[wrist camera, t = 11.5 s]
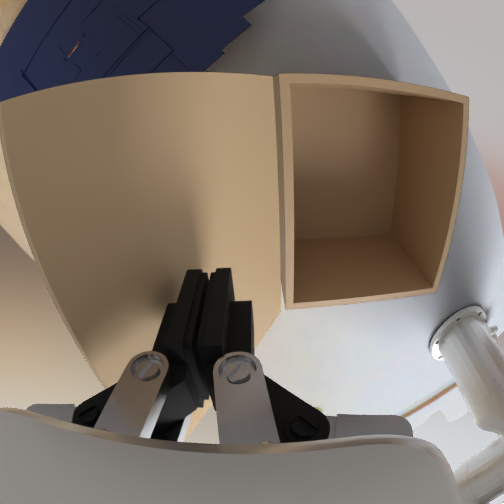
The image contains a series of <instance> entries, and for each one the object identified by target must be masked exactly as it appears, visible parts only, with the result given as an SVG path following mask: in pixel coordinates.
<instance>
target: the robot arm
mask: <svg viewBox="0 0 504 504" xmlns="http://www.w3.org/2000/svg"><path fill="white" fill-rule="evenodd" d="M485 322H486V314H485V312H484V311H483V309H482V308H480V307H478V306H470V307H466V308H464V309H462V310H460V311H458V312H456V313H455V314H454V315H452V316H451V317H450V318H449V319H447V320H446V321H445V322H444V323H443V324H442V325H441V326H440V328H439V329H438V330H437V331H436V333H435V335H434V336H433V338H432V340H431V343H430V349H429V350H430V353H431V355H432V357H433V358H434V359H436V360H444V361H445V363H446V365H447V367H448V369H449V371H450V373H451V375H452V377H453V379H454V380H455V382H456V384H457V386H458V388H459V390H460V393H461V395H462V397H463V399H464V401H465V403H466V405H467V407H468V409H469V412H470V414H471V416H472V418H473V420H474V422H475V424H476V425H477V426H478V427H479V428H481V429H483V430H486V431H490V432H495V433H497V434H498V435H499V436H498V438H497V439H496V440H494V441H493V442H492V443H491V444H490V445H489V446H487V447H486V448H484V449H483V450H481V451H479V452H478V453H476V454H475V455H473V456H472V457H470V458H469V459H467V460H466V461H464V462H463V463H461V464H460V465H459V466H457V467H456V468H455V470H454V471H453V472H452V470H451V467H450V465H449V463H448V462H447V460H446V458H445V457H444V455H443V453H442V452H441V451H440V449H438V448H437V447H436V446H435V445H434V444H432V443H430V442H427V441H425V440H422V439H418V438H414V437H413V431H412V427H411V424H410V423H409V422H408V421H407V420H406V419H405V418H403V417H401V416H396V415H349V414H337V416H325V415H324V414H323V413H321V412H320V411H319V410H317V409H315V408H314V407H312V406H311V405H309V404H308V403H306V402H304V401H303V400H301V399H300V398H298V397H297V396H295V395H294V394H292V393H291V392H289V391H287V390H286V389H284V388H283V387H281V386H280V385H279V384H277V383H276V382H274V381H273V380H271V379H270V378H268V377H267V376H265V375H264V373H263V369H262V365H261V363H260V361H259V359H258V358H256V357H255V356H254V319H253V306H252V300H249V301H235V295H234V287H233V279H232V271H231V267H230V268H216V271H215V272H211V274H210V279H209V277H208V273H207V272H205V273H203V271H202V269H190V270H187V271H186V274H185V277H184V280H183V283H182V286H181V290H180V293H179V296H178V299H177V302H176V303H169V304H168V305H167V307H166V310H165V313H164V316H163V319H162V322H161V325H160V328H159V331H158V334H157V337H156V340H155V343H154V346H153V349H152V351H146V352H142V353H139V354H137V355H136V356H134V357H133V358H132V359H131V360H130V361H129V362H128V364H127V366H126V368H125V369H124V371H123V373H122V375H121V377H120V379H119V380H118V382H117V383H115V384H114V385H112V386H110V387H109V388H107V389H105V390H103V391H102V392H100V393H98V394H96V395H95V396H93V397H91V398H89V399H88V400H86V401H84V402H83V403H81V404H80V405H79V406H78V407H76V405H75V404H33V405H32V406H30V407H28V408H27V410H22V409H17V408H0V504H489V502H490V501H492V500H494V499H495V498H497V497H499V496H500V495H502V494H504V354H503V353H502V351H501V350H500V348H499V346H498V345H497V343H496V340H497V335H496V334H495V333H496V332H497V330H498V329H497V326H493V327H490V328H489V327H488V325H487V324H486V323H485ZM209 397H211V400H212V403H213V406H214V409H215V411H216V412H217V422H218V432H219V441H220V444H201V443H187V442H186V443H185V442H184V439H185V436H186V433H187V430H188V427H189V424H190V420H191V413H192V412H194V411H195V410H197V408H203V406H204V400H209ZM500 504H504V501H503V502H502V503H500Z"/></svg>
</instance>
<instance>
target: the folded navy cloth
mask: <svg viewBox="0 0 504 504" xmlns="http://www.w3.org/2000/svg"><path fill="white" fill-rule="evenodd" d="M263 1H265V0H28V1H27V3H26V4H25V6H24V7H23V9H22V10H21V12H20V13H19V15H18V17H17V18H16V20H15V22H14V23H13V25H12V27H11V28H10V30H9V32H8V34H7V35H6V37H5V39H4V41H3V43H2V45H1V47H0V102H2V101H5V100H8V99H11V98H14V97H18V96H21V95H25V94H28V93H32V92H36V91H40V90H44V89H48V88H52V87H57V86H61V85H66V84H71V83H76V82H82V81H88V80H94V79H101V78H108V77H117V76H126V75H136V74H149V73H169V72H204V71H205V70H206V69H207V68H208V67H209V66H210V65H211V64H213V63H214V62H215V61H216V60H217V59H218V58H219V57H221V56H222V55H223V54H224V52H223V51H222V49H223V48H224V47H225V46H227V45H228V44H229V43H230V42H231V41H233V40H234V39H235V38H236V37H237V36H239V35H240V34H241V33H242V32H244V31H245V30H246V29H248V28H249V27H250V26H251V24H250V23H249V22H248V21H247V20H246V19H245V18H243V17H242V16H244V15H245V14H246V13H248V12H249V11H250V10H252V9H253V8H255V7H256V6H257V5H259V4H260V3H262V2H263Z"/></svg>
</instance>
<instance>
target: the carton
mask: <svg viewBox="0 0 504 504" xmlns="http://www.w3.org/2000/svg"><path fill="white" fill-rule="evenodd" d="M273 89H274V106H275V124H276V144H277V167H278V193H279V225H280V270H281V284H282V290H283V296H284V303H285V309H286V310H289V309H302V308H313V307H324V306H335V305H345V304H354V303H363V302H371V301H380V300H388V299H395V298H403V297H410V296H417V295H424V294H430V293H436V291H437V288H438V285H439V282H440V279H441V275H442V272H443V269H444V265H445V262H446V258H447V254H448V251H449V247H450V243H451V239H452V235H453V230H454V226H455V221H456V216H457V211H458V206H459V201H460V195H461V189H462V182H463V176H464V168H465V159H466V150H467V138H468V120H469V97H467V96H464V95H460V94H456V93H452V92H448V91H444V90H440V89H435V88H431V87H426V86H421V85H416V84H410V83H404V82H398V81H392V80H385V79H377V78H368V77H359V76H347V75H333V74H305V73H281V74H278V75H276V76H275V77H274V78H273Z"/></svg>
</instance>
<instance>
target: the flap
mask: <svg viewBox="0 0 504 504" xmlns="http://www.w3.org/2000/svg"><path fill="white" fill-rule="evenodd" d="M0 137H1V143H2V149H3V154H4V159H5V164H6V169H7V173H8V177H9V181H10V185H11V189H12V193H13V197H14V200H15V204H16V207H17V210H18V214H19V217H20V220H21V223H22V226H23V229H24V232H25V235H26V238H27V241H28V243H29V246H30V249H31V251H32V254H33V256H34V259H35V261H36V264H37V266H38V269H39V271H40V273H41V275H42V278H43V280H44V282H45V284H46V287H47V289H48V291H49V293H50V295H51V297H52V300H53V302H54V304H55V306H56V308H57V310H58V312H59V314H60V316H61V318H62V319H63V321H64V323H65V325H66V327H67V329H68V330H69V332H70V334H71V336H72V338H73V339H74V341H75V343H76V345H77V346H78V348H79V349H80V351H81V353H82V355H83V356H84V358H85V359H86V361H87V362H88V364H89V366H90V367H91V369H92V370H93V372H94V373H95V375H96V376H97V378H98V379H99V381H100V382H101V384H102V385H103V387H104V388H105V389H107V388H109V387H110V386H112V385H114V384H115V383H117V382H118V380H119V379H120V377H121V375H122V373H123V371H124V369H125V368H126V366H127V364H128V362H129V361H130V360H131V359H132V358H133V357H134V356H136V355H137V354H139V353H142V352H146V351H152V349H153V346H154V343H155V340H156V337H157V334H158V331H159V328H160V325H161V322H162V319H163V316H164V313H165V310H166V307H167V305H168V304H169V303H176V302H177V299H178V296H179V293H180V290H181V286H182V283H183V280H184V277H185V274H186V271H187V270H190V269H202V271H203V273H205V272H207V273H208V277H209V279H210V274H211V272H215V271H216V268H230V267H231V271H232V279H233V287H234V295H235V301H249V300H252V306H253V319H254V349H255V348H256V346H257V345H258V344H259V342H260V341H261V339H262V338H263V337H264V335H265V334H266V332H267V331H268V329H269V328H270V327H271V325H272V324H273V322H274V321H275V319H276V318H277V317H278V315H279V314H280V312H281V270H280V225H279V193H278V167H277V144H276V124H275V106H274V89H273V76H264V75H253V74H240V73H220V72H169V73H149V74H136V75H126V76H117V77H108V78H101V79H94V80H88V81H82V82H76V83H71V84H66V85H61V86H57V87H52V88H48V89H44V90H40V91H36V92H32V93H28V94H25V95H21V96H18V97H14V98H11V99H8V100H5V101H2V102H0ZM212 405H213V403H212V400H211V397H209V400H204V406H203V408H197V410H195V411H194V412H192V413H191V420H190V424H189V427H188V430H187V433H186V436H185V438H187V436H188V435H189V434H190V433H191V432H192V430H193V429H194V428H195V427H196V425H197V424H198V423H199V422H200V420H201V419H202V418H203V417H204V415H205V414H206V413H207V412H208V410H209V409H210V408H211V406H212ZM184 440H185V439H184Z"/></svg>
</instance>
